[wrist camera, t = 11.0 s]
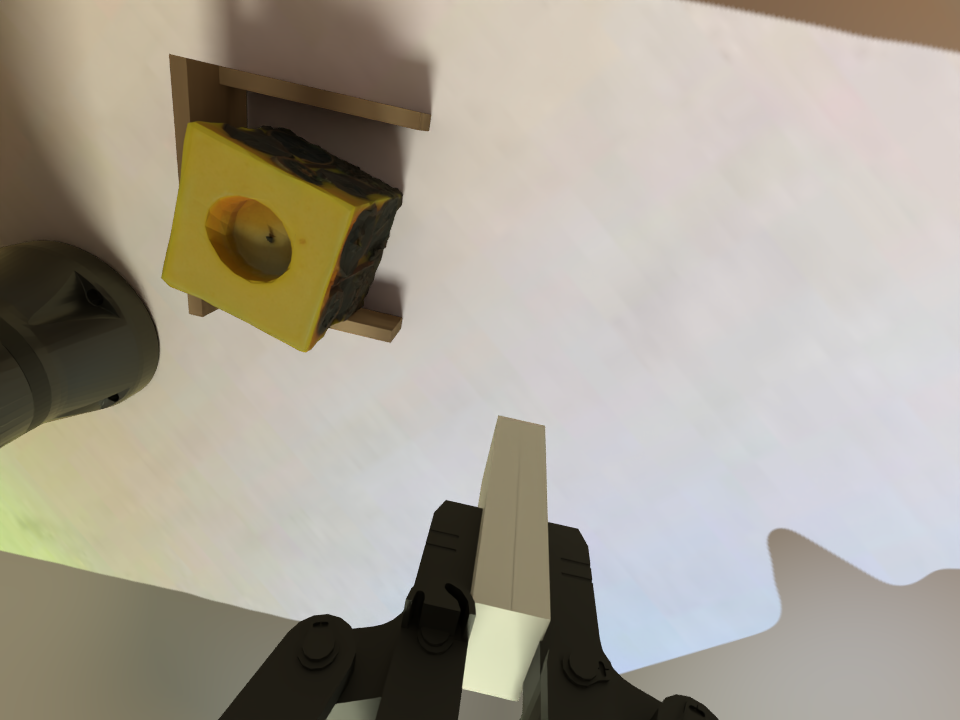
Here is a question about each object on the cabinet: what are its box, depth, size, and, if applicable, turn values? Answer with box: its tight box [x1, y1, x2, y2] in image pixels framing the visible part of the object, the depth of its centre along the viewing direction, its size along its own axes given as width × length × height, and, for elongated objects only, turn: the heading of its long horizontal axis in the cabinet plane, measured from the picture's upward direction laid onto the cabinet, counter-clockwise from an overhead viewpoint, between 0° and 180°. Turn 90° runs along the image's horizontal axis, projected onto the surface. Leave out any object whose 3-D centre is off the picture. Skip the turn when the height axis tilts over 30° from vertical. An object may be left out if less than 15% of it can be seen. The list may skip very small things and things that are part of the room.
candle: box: [161, 121, 403, 352], centre depth 31 cm, size 10×10×10 cm
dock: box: [169, 54, 431, 343], centre depth 32 cm, size 14×16×6 cm
